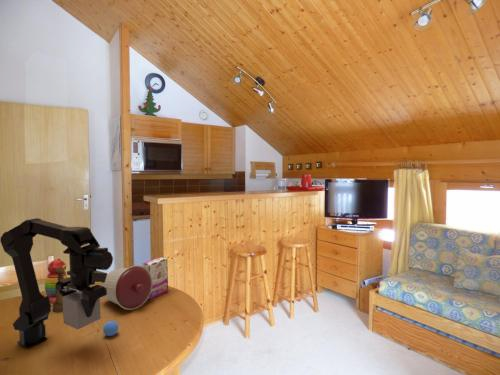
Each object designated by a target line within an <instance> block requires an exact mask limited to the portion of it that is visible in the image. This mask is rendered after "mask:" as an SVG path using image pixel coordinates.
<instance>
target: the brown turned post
mask: <svg viewBox="0 0 500 375" xmlns="http://www.w3.org/2000/svg"><path fill="white" fill-rule="evenodd" d="M64 271H65V272H66V269H65V270H64V268H63V267H58V268H57V270H56V272H57V274H58V275H59V277H58V281H59V280H62V279H64V277H63V273H64ZM52 311H53V312H54V313H55V312H56V313H61V312H62V313H63V296H62V295H61V294H60V293H59V291H58V290H56V302H55V303H52Z"/></svg>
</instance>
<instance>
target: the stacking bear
mask: <svg viewBox="0 0 500 375" xmlns="http://www.w3.org/2000/svg"><path fill="white" fill-rule="evenodd" d="M58 267H63V268H64V270H65V271H64V273H63V277H64V279H65V278H69V277H68V275H67V271H66V269H67V264H66V262H64V261H63V260H62V259H61V258H57V259H53V260H52V261H50V262H49V263H48V265H47V272H48V274H47V276H46V277H45V280H44V291H45V294H46V296H48V297H49V301H50V304H54V303H55V302H56V285H55V284H56V283H57V282H58V277H59V275H58V274H57V272H56V270H57V268H58Z"/></svg>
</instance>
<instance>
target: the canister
mask: <svg viewBox="0 0 500 375" xmlns="http://www.w3.org/2000/svg"><path fill="white" fill-rule="evenodd" d="M100 286H103V287H105V288H107V295H105V296H103V297H104V298H106V300H107V301H110V302H111V303H114V304H116V305H118V306H119V307H120V308H122V310H127V311H133V310H137V309H139V308H140V307H142V306H143V305H144V304H145V303H146V302H147V301H148V300H149V299H148V298H149V296H150V294H151V290H152V277H151V275H150V273H149V271H148V270H147V269H146V268H144V267H143V265H142V266H141V265H131V266H130V267H122V268H116V269H113V270H111V271H110V272H108V273H107V277H106V280H105V283H102V282H101V284H100Z"/></svg>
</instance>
